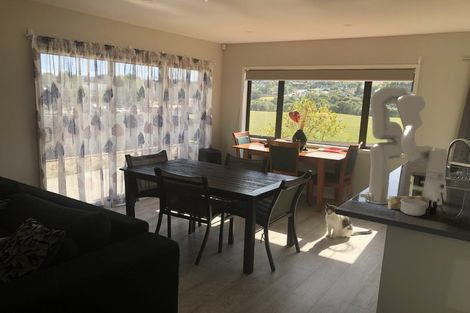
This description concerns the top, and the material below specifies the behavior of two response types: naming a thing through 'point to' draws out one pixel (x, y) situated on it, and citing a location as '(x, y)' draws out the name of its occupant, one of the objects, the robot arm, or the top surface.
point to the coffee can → (417, 184)
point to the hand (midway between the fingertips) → (431, 215)
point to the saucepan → (414, 207)
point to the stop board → (396, 203)
